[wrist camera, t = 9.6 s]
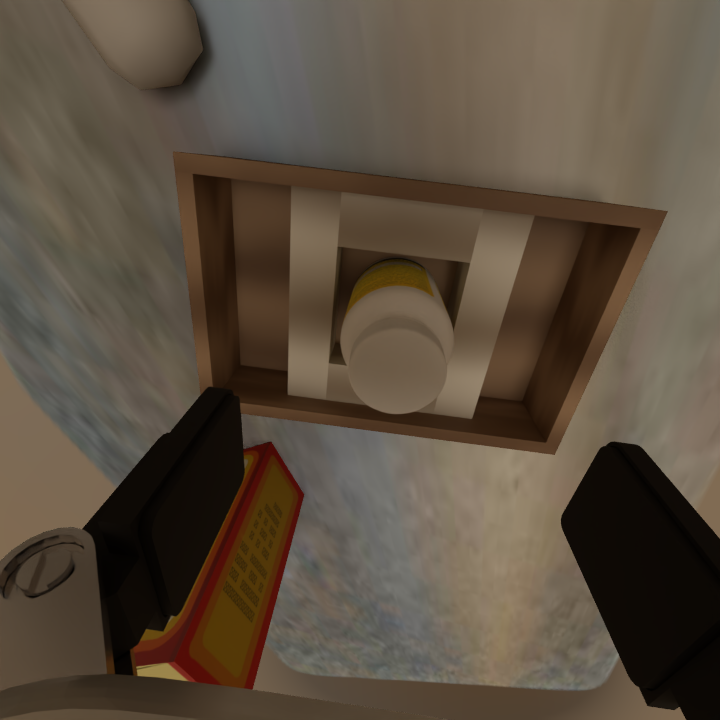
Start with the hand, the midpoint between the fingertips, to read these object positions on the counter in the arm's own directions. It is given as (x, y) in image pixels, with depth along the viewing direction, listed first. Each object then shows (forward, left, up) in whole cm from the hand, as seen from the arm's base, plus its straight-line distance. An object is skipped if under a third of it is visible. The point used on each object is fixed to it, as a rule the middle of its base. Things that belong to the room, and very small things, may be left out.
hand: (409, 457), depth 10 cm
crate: (+1, 0, -16) cm, 16 cm away
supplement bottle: (0, 0, -15) cm, 15 cm away
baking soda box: (+20, -11, -16) cm, 28 cm away
